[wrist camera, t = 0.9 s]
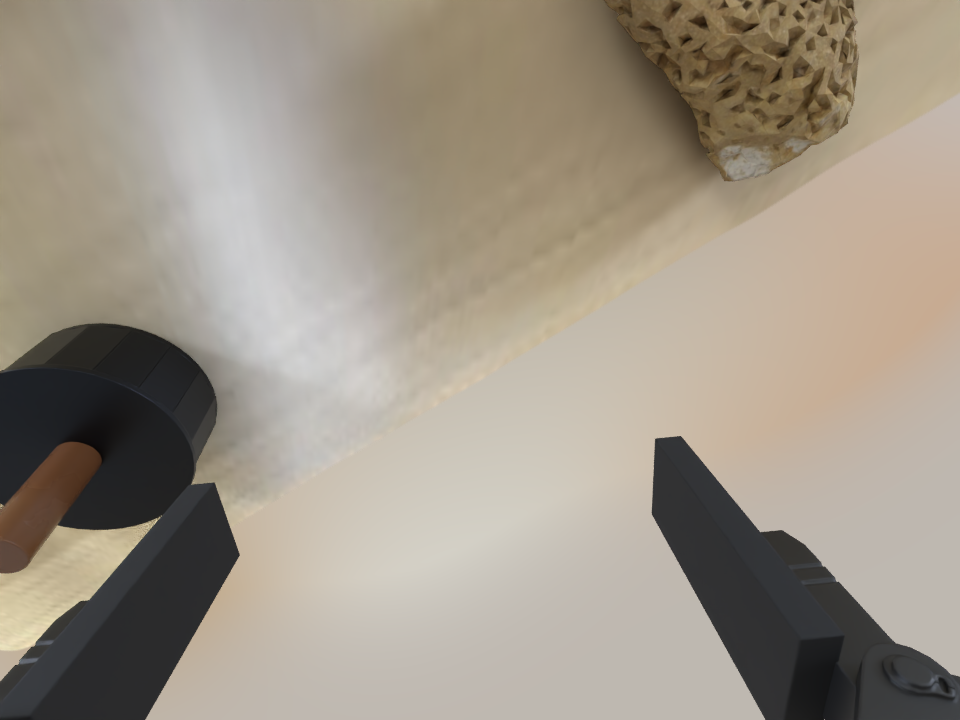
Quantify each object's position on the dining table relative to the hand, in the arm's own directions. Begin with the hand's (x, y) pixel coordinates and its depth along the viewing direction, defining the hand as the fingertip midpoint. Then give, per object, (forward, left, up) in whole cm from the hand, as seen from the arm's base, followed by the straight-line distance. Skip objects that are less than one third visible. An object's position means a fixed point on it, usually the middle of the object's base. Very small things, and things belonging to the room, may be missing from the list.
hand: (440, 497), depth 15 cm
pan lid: (+8, -25, -19) cm, 32 cm away
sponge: (-10, +22, -26) cm, 35 cm away
